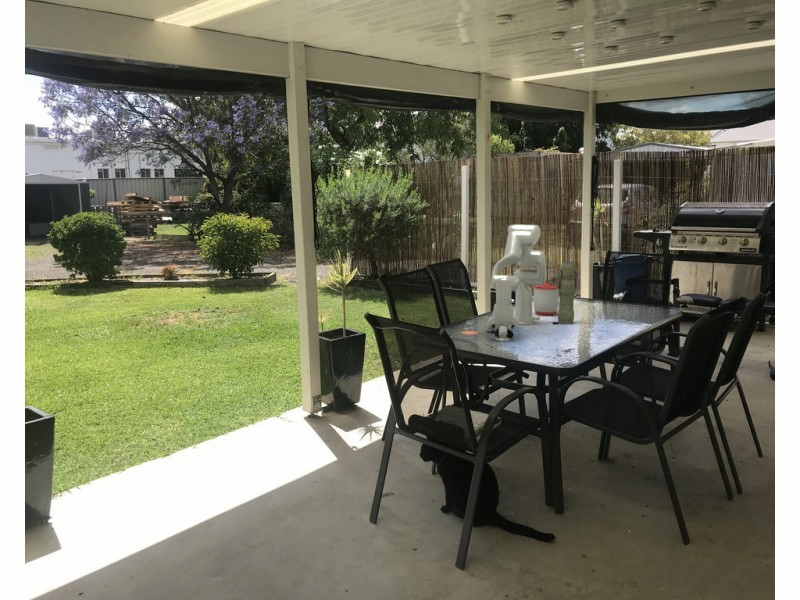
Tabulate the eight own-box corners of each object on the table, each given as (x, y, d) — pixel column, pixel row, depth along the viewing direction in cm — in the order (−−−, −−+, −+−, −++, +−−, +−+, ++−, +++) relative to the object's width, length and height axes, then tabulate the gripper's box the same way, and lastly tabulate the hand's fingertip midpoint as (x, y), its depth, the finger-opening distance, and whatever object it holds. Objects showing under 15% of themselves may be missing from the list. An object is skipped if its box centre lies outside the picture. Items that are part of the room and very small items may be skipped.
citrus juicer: (564, 316, 386) (565, 283, 382) (535, 316, 386) (536, 283, 383) (558, 312, 401) (559, 280, 398) (530, 312, 401) (531, 280, 398)
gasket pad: (478, 331, 345) (478, 331, 345) (478, 335, 336) (478, 334, 336) (461, 331, 346) (461, 330, 346) (460, 334, 338) (460, 334, 338)
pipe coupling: (509, 338, 329) (509, 324, 327) (509, 341, 322) (510, 326, 320) (495, 338, 329) (495, 323, 328) (495, 341, 323) (496, 326, 321)
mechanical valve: (500, 324, 351) (507, 306, 339) (513, 350, 340) (521, 333, 329) (483, 327, 348) (490, 309, 336) (495, 353, 337) (502, 336, 326)
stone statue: (579, 324, 364) (581, 262, 359) (560, 325, 361) (562, 263, 356) (571, 321, 373) (573, 261, 367) (552, 322, 370) (554, 261, 364)
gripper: (520, 301, 325) (519, 336, 328) (486, 300, 327) (485, 335, 330) (521, 303, 318) (520, 339, 321) (486, 303, 320) (485, 338, 323)
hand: (502, 337), depth 325 cm, fingers closed on pipe coupling, 5 cm apart
